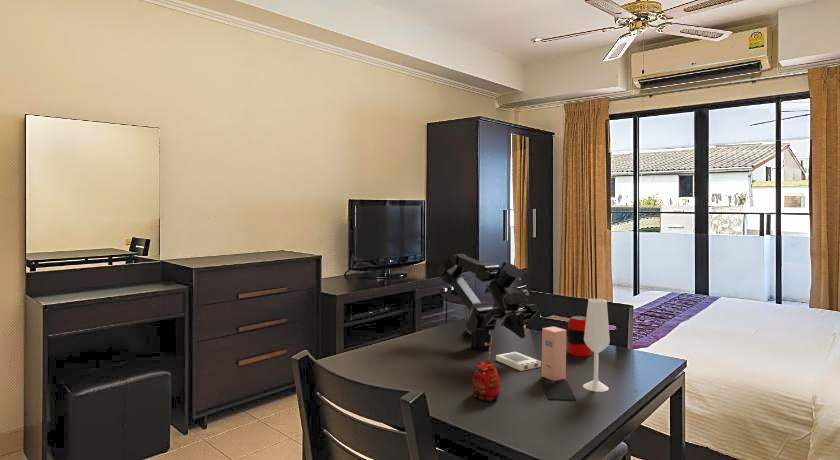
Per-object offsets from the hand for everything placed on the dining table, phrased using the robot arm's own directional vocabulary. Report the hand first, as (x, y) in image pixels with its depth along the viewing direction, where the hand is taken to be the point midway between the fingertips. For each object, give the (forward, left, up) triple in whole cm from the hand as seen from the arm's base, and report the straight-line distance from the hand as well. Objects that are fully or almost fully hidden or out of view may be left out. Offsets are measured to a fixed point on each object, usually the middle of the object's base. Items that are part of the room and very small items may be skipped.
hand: (523, 337), depth 159 cm
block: (+9, -10, -9) cm, 16 cm away
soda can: (+17, +18, -9) cm, 27 cm away
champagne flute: (+20, -14, -9) cm, 26 cm away
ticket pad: (-2, +2, -9) cm, 9 cm away
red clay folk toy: (-8, -29, -9) cm, 31 cm away
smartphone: (+10, -19, -9) cm, 24 cm away
